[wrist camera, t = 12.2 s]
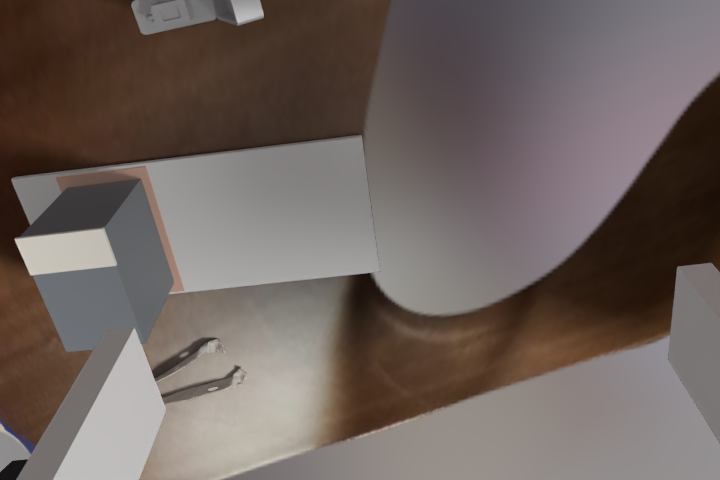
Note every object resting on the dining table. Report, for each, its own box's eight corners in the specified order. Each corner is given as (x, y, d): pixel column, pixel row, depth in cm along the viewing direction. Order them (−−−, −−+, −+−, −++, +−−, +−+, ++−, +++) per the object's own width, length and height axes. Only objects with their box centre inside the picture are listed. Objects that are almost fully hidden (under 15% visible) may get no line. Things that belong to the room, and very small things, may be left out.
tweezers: (218, 329, 49) (212, 347, 48) (252, 371, 51) (247, 390, 50) (48, 399, 54) (37, 417, 53) (86, 434, 57) (76, 453, 55)
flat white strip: (361, 134, 41) (361, 137, 41) (379, 268, 46) (380, 272, 45) (13, 177, 43) (10, 180, 42) (66, 302, 47) (63, 306, 47)
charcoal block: (175, 281, 46) (145, 344, 40) (105, 289, 46) (65, 353, 40) (141, 177, 42) (102, 229, 36) (65, 186, 42) (14, 239, 36)
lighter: (164, 20, 38) (118, 52, 31) (153, -11, 37) (104, 15, 30) (282, -7, 37) (263, 20, 30) (274, -39, 36) (252, -19, 29)
